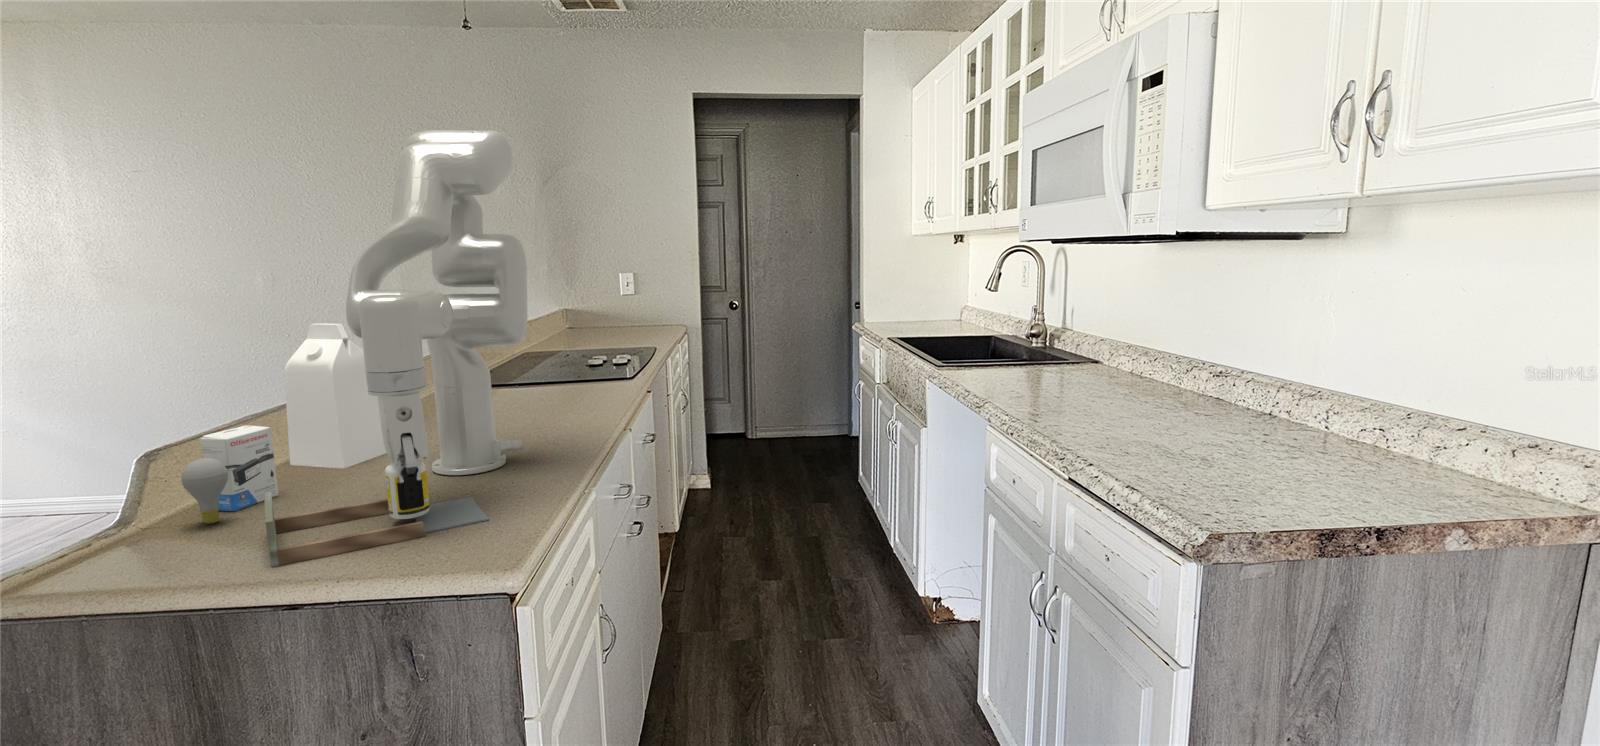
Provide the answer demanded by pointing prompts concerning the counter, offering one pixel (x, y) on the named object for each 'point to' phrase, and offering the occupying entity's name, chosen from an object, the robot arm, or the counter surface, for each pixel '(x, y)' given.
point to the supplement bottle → (392, 492)
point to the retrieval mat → (451, 515)
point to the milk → (330, 402)
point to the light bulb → (206, 485)
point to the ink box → (243, 464)
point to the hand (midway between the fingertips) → (408, 500)
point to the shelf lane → (333, 544)
